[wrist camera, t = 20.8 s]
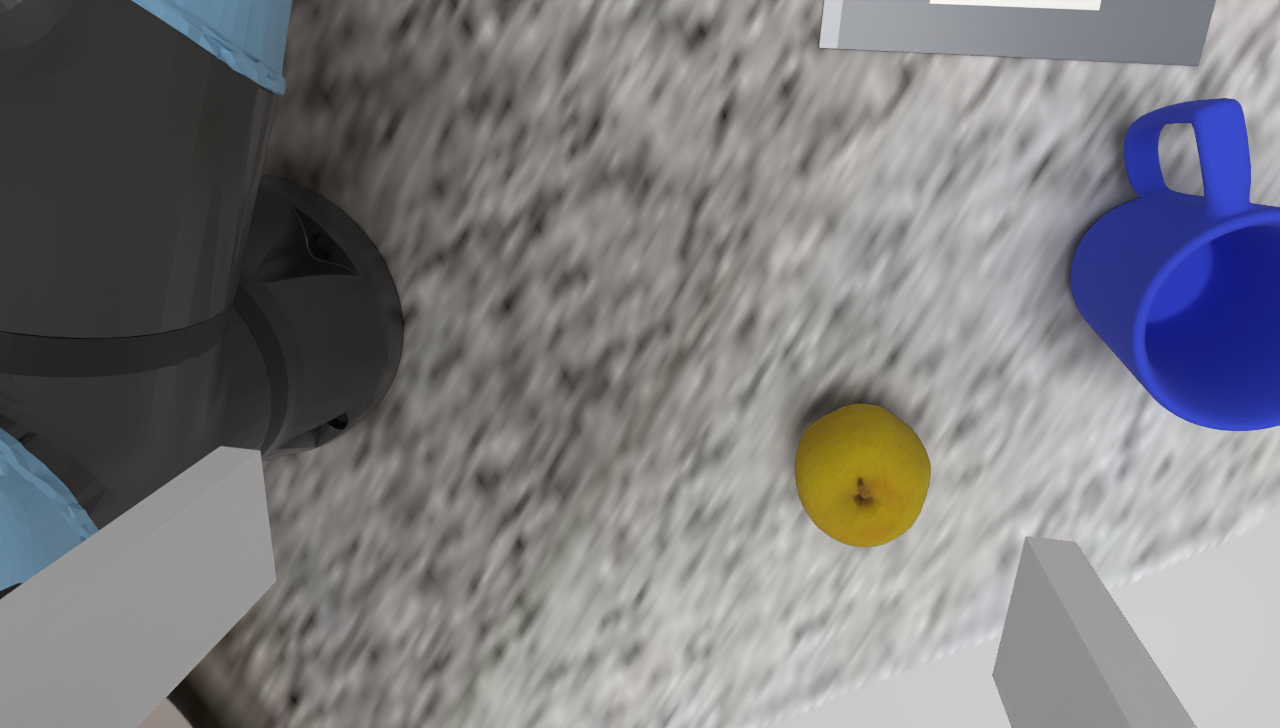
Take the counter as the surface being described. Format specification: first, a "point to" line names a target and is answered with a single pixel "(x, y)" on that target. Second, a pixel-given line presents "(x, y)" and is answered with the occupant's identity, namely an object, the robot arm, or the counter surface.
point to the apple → (862, 475)
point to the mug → (1190, 276)
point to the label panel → (1024, 28)
